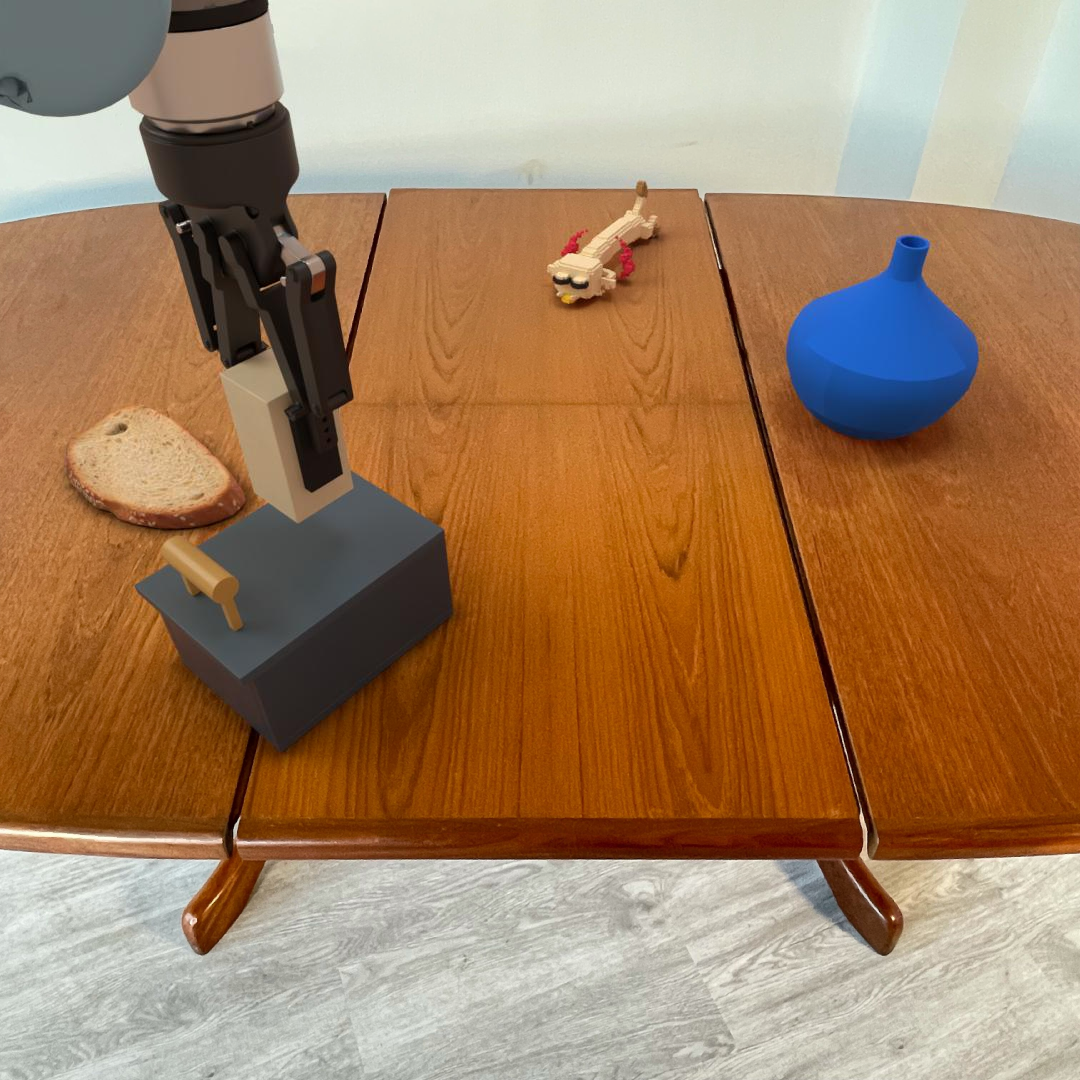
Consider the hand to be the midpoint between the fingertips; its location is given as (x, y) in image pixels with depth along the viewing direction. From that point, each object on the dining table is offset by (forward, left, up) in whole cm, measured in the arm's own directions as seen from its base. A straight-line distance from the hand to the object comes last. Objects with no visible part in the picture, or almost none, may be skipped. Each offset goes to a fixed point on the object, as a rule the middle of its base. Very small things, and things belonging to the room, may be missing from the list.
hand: (297, 463), depth 61 cm
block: (0, 0, -2) cm, 2 cm away
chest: (-2, -1, -17) cm, 17 cm away
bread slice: (-13, +26, -17) cm, 34 cm away
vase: (+58, +9, -17) cm, 62 cm away
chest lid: (-2, -1, -8) cm, 9 cm away
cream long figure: (+46, +49, -17) cm, 70 cm away
